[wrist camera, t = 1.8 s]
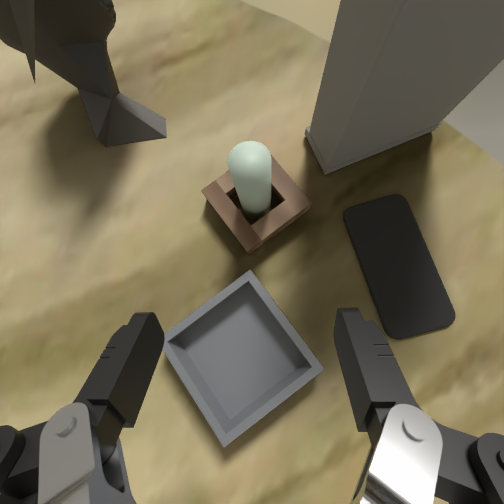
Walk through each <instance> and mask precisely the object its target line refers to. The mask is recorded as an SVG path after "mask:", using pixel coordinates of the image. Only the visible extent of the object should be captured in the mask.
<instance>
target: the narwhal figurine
mask: <svg viewBox="0 0 504 504" xmlns="http://www.w3.org/2000/svg"><path fill="white" fill-rule="evenodd" d="M115 22H116V13H115V10H114V5H113V2H112V0H0V39H1V40H2V41H3V42H4V43H5V44H7V45H8V46H10V47H12V48H14V49H16V50H18V51H20V52H22V53H24V54H26V56H27V60H28V63H29V66H30V69H31V73H32V76H33V79H34V82H35V60H37V61H38V62H40V63H41V64H43V65H44V66H46V67H47V68H49V69H50V70H52V71H53V72H55V73H56V74H57V75H59V76H60V77H62V78H63V79H65V80H66V81H68V82H69V83H71V84H72V85H74V86H75V87H77V88H78V91H79V93H80V96H81V99H82V101H83V104H84V107H85V109H86V112H87V114H88V117H89V120H90V122H91V125H92V128H93V130H94V133H95V136H96V138H97V139H98V140H99V141H100V142H101V143H102V144H104V145H105V146H113V145H120V144H126V143H133V142H140V141H146V140H153V139H160V138H166V119H165V118H163V117H162V116H160V115H158V114H156V113H155V112H153V111H151V110H149V109H147V108H146V107H144V106H142V105H140V104H139V103H137V102H135V101H133V100H132V99H130V98H128V97H126V96H124V95H123V94H121V93H120V92H119V89H118V86H117V82H116V79H115V76H114V72H113V69H112V66H111V62H110V59H109V56H108V52H107V41H106V40H107V37H108V35H109V33H110V32H111V30H112V29H113V28H114V25H115Z"/></svg>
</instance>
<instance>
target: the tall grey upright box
mask: <svg viewBox="0 0 504 504" xmlns="http://www.w3.org/2000/svg"><path fill="white" fill-rule="evenodd" d="M503 59H504V0H341V2H340V6H339V10H338V14H337V19H336V23H335V27H334V31H333V35H332V39H331V44H330V48H329V52H328V56H327V60H326V64H325V68H324V73H323V77H322V81H321V85H320V89H319V93H318V98H317V102H316V106H315V110H314V114H313V118H312V123H311V126H309V127H307V128H306V130H305V135H306V137H307V140H308V142H309V144H310V146H311V148H312V150H313V152H314V154H315V156H316V158H317V160H318V162H319V164H320V166H321V168H322V170H323V172H324V174H325V175H326V174H328V173H331V172H333V171H336V170H338V169H340V168H343V167H345V166H348V165H350V164H353V163H355V162H358V161H360V160H363V159H365V158H368V157H370V156H372V155H375V154H377V153H380V152H382V151H385V150H387V149H390V148H392V147H395V146H397V145H399V144H402V143H404V142H407V141H409V140H412V139H414V138H417V137H419V136H422V135H424V134H426V133H429V132H431V131H434V130H435V129H436V128H437V127H438V126H439V125H440V122H441V121H442V120H443V119H444V118H445V117H446V116H447V115H448V114H449V113H450V112H451V111H452V110H453V109H454V108H455V107H456V106H457V105H458V104H459V103H460V102H461V101H462V100H463V99H464V98H465V97H466V96H467V95H468V94H469V93H470V92H471V91H472V90H473V89H474V88H475V87H476V86H477V85H478V84H479V83H480V82H481V81H482V80H483V79H484V78H485V77H486V76H487V75H488V74H489V73H490V72H491V71H492V70H493V69H494V68H495V67H496V66H497V65H498V64H499V63H500V62H501V61H502V60H503Z"/></svg>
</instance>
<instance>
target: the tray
mask: <svg viewBox="0 0 504 504" xmlns="http://www.w3.org/2000/svg"><path fill="white" fill-rule="evenodd" d="M164 336H165V341H164V346H163V349H162V350H163V351H164V353H165V354H166V356H167V358H168V359H169V361H170V362H171V364H172V366H173V367H174V369H175V370H176V372H177V374H178V375H179V377H180V378H181V380H182V382H183V383H184V385H185V386H186V388H187V390H188V391H189V393H190V394H191V396H192V398H193V399H194V401H195V402H196V404H197V406H198V407H199V409H200V410H201V412H202V414H203V415H204V417H205V418H206V420H207V422H208V423H209V425H210V426H211V428H212V430H213V431H214V433H215V434H216V436H217V438H218V439H219V441H220V442H221V444H222V446H223V447H226V446H227V445H228V444H229V443H231V442H232V441H233V440H234V439H236V438H237V437H238V436H240V435H241V434H242V433H243V432H245V431H246V430H247V429H249V428H250V427H251V426H252V425H254V424H255V423H256V422H258V421H259V420H260V419H261V418H263V417H264V416H265V415H267V414H268V413H269V412H270V411H272V410H273V409H274V408H276V407H277V406H278V405H279V404H281V403H282V402H283V401H284V400H286V399H287V398H288V397H290V396H291V395H292V394H293V393H295V392H296V391H297V390H299V389H300V388H301V387H302V386H304V385H305V384H306V383H308V382H309V381H310V380H311V379H313V378H314V377H315V376H317V375H318V374H319V373H320V372H322V371H323V370H324V368H323V366H322V365H321V363H320V362H319V360H318V359H317V358H316V356H315V355H314V354H313V352H312V351H311V350H310V348H309V347H308V346H307V344H306V343H305V342H304V340H303V339H302V338H301V336H300V335H299V334H298V332H297V331H296V330H295V328H294V327H293V326H292V324H291V323H290V321H289V320H288V319H287V317H286V316H285V315H284V313H283V312H282V311H281V309H280V308H279V307H278V305H277V304H276V303H275V301H274V300H273V299H272V297H271V296H270V295H269V293H268V292H267V291H266V289H265V288H264V287H263V285H262V284H261V283H260V281H259V280H258V279H257V277H256V276H255V275H254V273H253V272H252V271H251V270H249V271H247V272H246V273H245V274H243V275H242V276H241V277H239V278H238V279H237V280H235V281H234V282H233V283H231V284H230V285H229V286H227V287H226V288H225V289H223V290H222V291H221V292H219V293H218V294H217V295H215V296H214V297H213V298H211V299H210V300H209V301H207V302H206V303H205V304H203V305H202V306H201V307H199V308H198V309H197V310H195V311H194V312H193V313H192V314H190V315H189V316H188V317H186V318H185V319H184V320H182V321H181V322H180V323H178V324H177V325H176V326H174V327H173V328H172V329H170V330H169V331H168V332H166V333H165V334H164Z"/></svg>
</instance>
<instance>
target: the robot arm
mask: <svg viewBox="0 0 504 504" xmlns="http://www.w3.org/2000/svg"><path fill="white" fill-rule="evenodd" d="M164 341H165V336H164V332H163V330H162V328H161V326H160V323H159V321H158V319H157V317H156V315H155V313H153V312H141V313H135V314H134V315H133V316H132V318H131V319H130V321H129V323H128V325H123V326H122V327H121V328H120V329H119V330H118V331H117V332H116V333H115V334H114V335H113V336H112V337H111V339H110V341H109V342H108V344H107V346H106V349H105V350H104V351H103V353H102V354H101V356H100V359H99V360H98V361H97V363H96V365H95V366H94V368H93V370H92V372H91V373H90V375H89V377H88V379H87V380H86V382H85V384H84V385H83V387H82V389H81V391H80V392H79V394H78V396H77V397H76V399H75V400H74V401H73V403H72V404H69V405H67V406H65V407H63V408H61V409H60V410H59V411H57V412H56V413H55V414H54V415H53V416H52V417H51V418H50V419H49V421H46V422H43V423H40V424H38V425H35V426H32V427H29V428H26V429H23V430H20V431H18V430H16V429H15V428H13V427H11V426H9V425H4V426H0V493H1V494H0V504H136V502H135V500H134V498H133V496H132V494H131V490H130V486H129V481H128V476H127V471H126V467H125V462H124V457H123V452H122V447H121V442H120V439H119V435H120V433H121V430H122V428H133V427H134V425H135V422H136V419H137V417H138V414H139V411H140V408H141V406H142V403H143V400H144V398H145V395H146V392H147V390H148V387H149V384H150V381H151V379H152V376H153V373H154V371H155V368H156V365H157V363H158V360H159V357H160V355H161V352H162V349H163V346H164ZM334 342H335V346H336V350H337V354H338V358H339V361H340V365H341V369H342V373H343V376H344V380H345V384H346V388H347V391H348V395H349V399H350V403H351V406H352V410H353V414H354V418H355V421H356V425H357V429H358V432H368V435H369V439H370V442H371V446H370V449H369V451H368V454H367V457H366V460H365V463H364V465H363V468H362V471H361V474H360V477H359V480H358V482H357V485H356V488H355V491H354V494H353V496H352V499H351V502H350V504H433V499H434V496H435V497H438V498H440V499H442V500H445V501H447V502H449V504H504V436H503V435H500V434H496V433H487V434H484V435H482V436H481V437H479V438H478V437H475V436H472V435H469V434H466V433H463V432H460V431H457V430H454V429H451V428H448V427H446V426H443V425H441V424H439V423H437V422H436V421H434V420H433V419H431V418H430V417H429V416H428V415H427V414H426V413H425V412H423V410H422V409H421V408H420V407H419V406H418V404H417V403H416V401H415V399H414V397H413V395H412V393H411V391H410V389H409V387H408V385H407V382H406V380H405V378H404V376H403V374H402V372H401V370H400V367H399V365H398V363H397V361H396V359H395V357H394V356H393V352H392V350H391V348H390V347H389V344H388V342H387V340H386V337H385V335H384V333H383V331H382V330H381V329H380V328H379V327H378V326H377V325H376V324H375V323H374V322H373V321H363V318H362V316H361V313H360V311H359V309H358V308H338V310H337V315H336V321H335V327H334Z"/></svg>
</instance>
